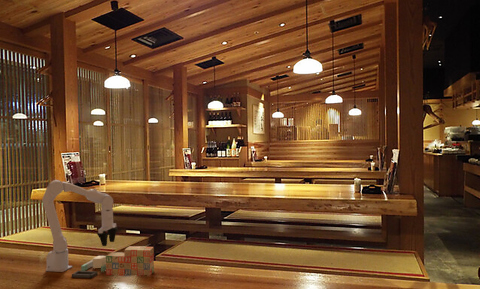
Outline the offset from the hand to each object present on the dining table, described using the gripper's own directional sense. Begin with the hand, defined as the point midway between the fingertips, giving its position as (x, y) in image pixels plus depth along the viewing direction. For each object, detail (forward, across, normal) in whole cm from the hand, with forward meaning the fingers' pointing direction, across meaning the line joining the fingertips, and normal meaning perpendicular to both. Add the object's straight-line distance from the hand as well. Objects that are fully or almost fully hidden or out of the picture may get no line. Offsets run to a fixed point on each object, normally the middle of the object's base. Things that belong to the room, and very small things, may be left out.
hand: (108, 243), depth 199 cm
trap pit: (+9, -22, 0) cm, 23 cm away
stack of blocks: (+10, -15, -20) cm, 27 cm away
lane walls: (+10, -10, 0) cm, 14 cm away
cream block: (+10, -8, 0) cm, 12 cm away
